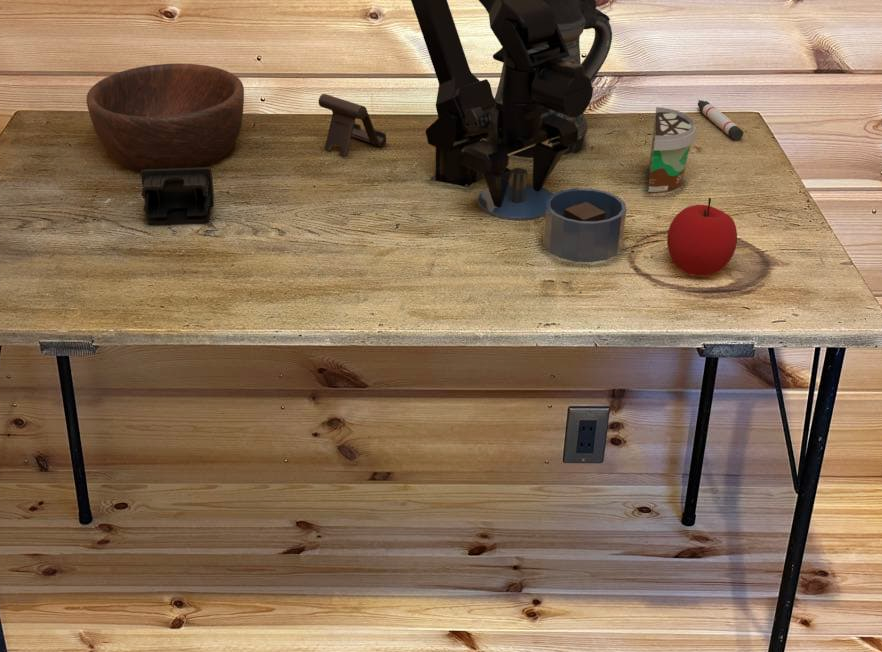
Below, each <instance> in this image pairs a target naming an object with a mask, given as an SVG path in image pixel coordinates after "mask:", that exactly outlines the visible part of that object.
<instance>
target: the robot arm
mask: <svg viewBox="0 0 882 652" xmlns="http://www.w3.org/2000/svg"><path fill="white" fill-rule="evenodd" d="M410 2H411V5H412V7H413V11H414V13H415V16H416V20H417V22H418V25H419V28H420V31H421V34H422V37H423V40H424V43H425V47H426V49H427V52H428V54H429V55H428V56H429V58H430V61H431V64H432V67H433V71H434V73H435V75H436V79H437V82H438V90H437V94H436V100H435V109H436V114H437V118H436V119H435V121H434V122H433V123H431V125H429V126H428V127H427V128H426V129H425V135H426V139H427V144H428V145H430V146H432V147H434V148H435V164H434V165H435V168H434V169H435V173H434V175H433V176H432V177H430V181H435V182H438V183H444V184H449V185H454V186H460V187H463V188H468V187H471V185H473V183H477V182H478V180H480V179H481V178H482V177H483V179H484V181H485V183H486V186H487V188H488V189H489V192H490V195H491V198H492V201H493V203H494V206H496V207H498V208H500V207H501V205H502V203H503V200H504V197H505V193H506V189H507V185H508V183H510V176H511V170H512V169H510V168H508V166H509V163H510V160H509V159H510V156H513V155H512V154H515V153H518V152H520V151H523V150H525V149H528V148H531V149H532V151H533V158H532V160H533V161H532V163H533V164H532V185H533V188H534V190H536V191H540V190H541V189H542V188H544V186H545V184H546V182H547V180H548V179H549V177H550V175H551V174H552V172H553V170H554V169H555V167H556V166H557V165H558V163H559V162H560V160H561V159H562V158H563V156H564V155H563V154H564V153H565V152H566V151H567V150H568V149H569V146H568V145H571V144H574V143H576V142H577V140H578V129H577V127H576V125H575V123H574V122H571V121H569V120H566V119H564V118H561V117H558V116H556V115H553V114H551V115H549V116H546V117H543V118H542V114H544V113H547V112H549V109H551V110H553V111H556V112H559V113H561V114H564V115H566V116H569V117H572V118H573V117H578V116H579V115H581V114H582V113H583V112H584V113H585V112H586V110H587V109H588V107H589V105H590V104H591V102H592V98H593V93H594V87H593V85H592V81H590V79H589V78H588V76H586V75H584V66H583V65H580V64H573V63H570V62H567V61H564V60H562V59H564V58H567V57H569V52H568V49H567V47H566V42H565V41H564V39H563V37H562V35H561V32H560V30H559V27H558V25H557V22H556V20H555V19H556V17H555V15H554V12H553V11H552V9H551V8H550V7H549V6H548V5H547V4H546V3H545V2H543V1H542V0H478V2H479V3H480V4H481V5H482V6H483V8H485V11H486V12H487V14H488V19H489V27H490V29H491V31H492V33H493V34H494V36H495V37H496V39H497V41H498V42H499V44H500V45H501V48H500V49H499V50H497V51H496V52H495V53H494V54H492V59H493V60H495V61H497V62H500V63H502V64H503V63H504V78H503V100H502V101H499V102H496V101H495V96H494V95H493V90H492V86H491V83H490V81H489V80H488V79H487V78H485V79H482V80H480V79H479V78H477V76H475V74H473V72H472V71H471V69H470V66H469V62H468V59H467V57H466V54H465V50H464V47H463V44H462V42H461V38H460V35H459V33H458V32H459V31H458V29H457V26H456V24H455V20H454V17H453V15H452V10H451V9H450V5H449V2H448V0H410ZM546 44H547V45H548V46H549V47H550V48H547V49H543V50H540V51H537V52H534V53H530V52H527V51H528V50H531V49H534V48H537V47H540V46H543V45H546ZM490 132H491V137H493V138H495V139H498V138H500V139H501V142H502V143H500V144H498V145H494V144H492V143H490V142H489V141H488V140H485V139H488V137H489V135H490Z"/></svg>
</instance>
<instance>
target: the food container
mask: <svg viewBox="0 0 882 652" xmlns="http://www.w3.org/2000/svg"><path fill="white" fill-rule="evenodd" d="M652 130H653V132H652V138H651V139H652V140H651V141H652V142H651V148H650V156H649V164H648V169H649V170H648V190H647V194H662V193H663V194H665V193H669V192H672V191H676V190H678V189H679V188H680V187H681V186H682V183H683V179H684V176H685V175H684V173H685V170H686V165H687V161H688V156H689V152H690V148H691V145H692V144H694V142H696V140H697V129H696V125H695V121H694V120H693V118H692V117H691V116H690V115H688V114H687V113H685V112H682V111H681V110H677V109H673V108H668V107H662V106H661V107H659V106H657V107H655V114H654V123H653V129H652Z"/></svg>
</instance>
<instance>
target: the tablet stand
mask: <svg viewBox="0 0 882 652" xmlns="http://www.w3.org/2000/svg"><path fill="white" fill-rule="evenodd" d="M318 105H319V107H320V108H324V109H326V110H330V111H331V113H332V115H331V119H330V122H329V123H330V124H329V127H328V134H327V136H326V141H325V145H324V149H325V150H326V151H328V152H332V151H333V148H334V145H335V146H338V147H339V153H338V154H339V156H342V157H347V155H348V151H349V147H350V143H351V139H352V138H353V139H357V140H360V141H363V142H365V143H369V144H371V145H373V146H375V147H380V148H383V147H384V146H385V145H386V143H387V133H386V132H384V131H381V130H378V129H375V127H374V125H373V122H372V120H371V117H370V115H369V112H368V110H367V109H368V108H367V107H366V106H364V105H361V104H358V103H355V102H351V101H349V100H346V99H342V98H339V97H337V96H333V95H331V94H327V93H322V94H321V95H320V96H319V98H318ZM356 119H357V120H360V121H361V122H362V124H363V127H364V129H363V128H362V127H361V126H362V125H361V124H360V123H357V122H356Z"/></svg>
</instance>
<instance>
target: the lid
mask: <svg viewBox="0 0 882 652" xmlns="http://www.w3.org/2000/svg"><path fill="white" fill-rule="evenodd" d="M527 182H528V170H527V169H525V168H521V167H516V168H515V167H514V168H512V169H511V174H510V178H509V182H508V185H507V189H506V193H505V197H504V200H503V203H502V205H501V207H500V208H498V207H496V206H494V203H493V201H492V198H491V195H490V192H489V189H488V187H487V188H485V189H484V190H482V191H480V194H479V195H478V198H477V203H478V206H479V208H480V209H481V210H482V211H483V212H484V213H486V214H488V215H491V216H492V217H496V218H499V219H504V220H510V221H529V220H536V219H540V218H543V217H545V205H546V200H547V199H548V198H549V197H550V196H551V195H552V194H554V193H552V192H551V190H549V189H547V188H545V187H542V189H541V190H540V191H536V190H534V188H533V184H531V183H527Z"/></svg>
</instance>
